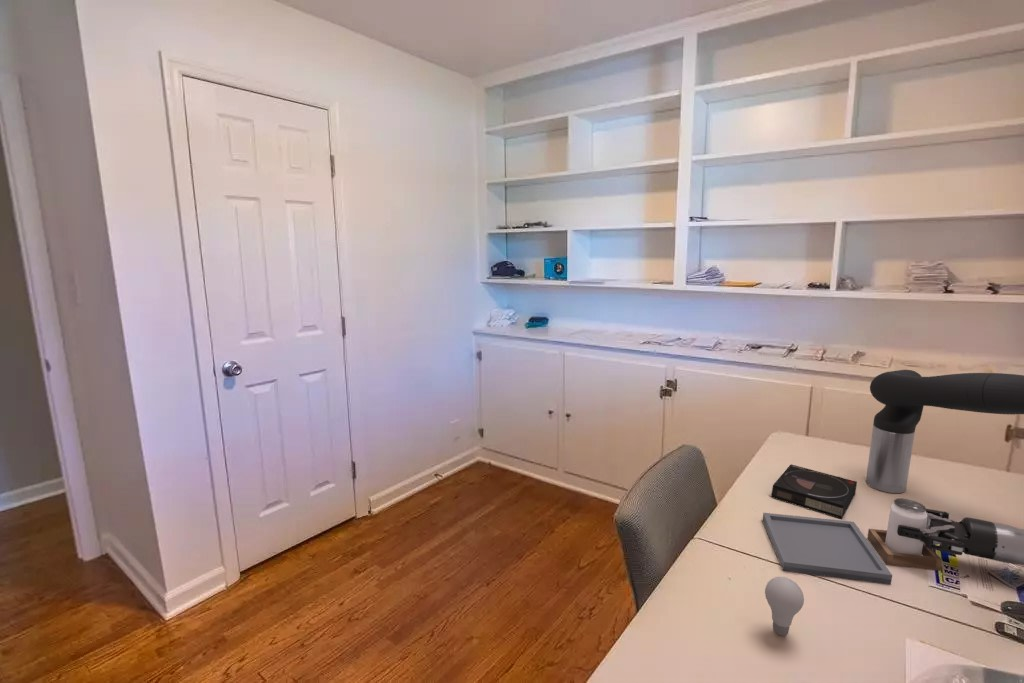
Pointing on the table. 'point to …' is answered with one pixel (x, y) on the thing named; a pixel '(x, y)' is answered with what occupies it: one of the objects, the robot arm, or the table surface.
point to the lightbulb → (783, 602)
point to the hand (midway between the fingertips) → (895, 520)
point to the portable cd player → (815, 490)
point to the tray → (824, 548)
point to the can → (909, 516)
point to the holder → (905, 560)
